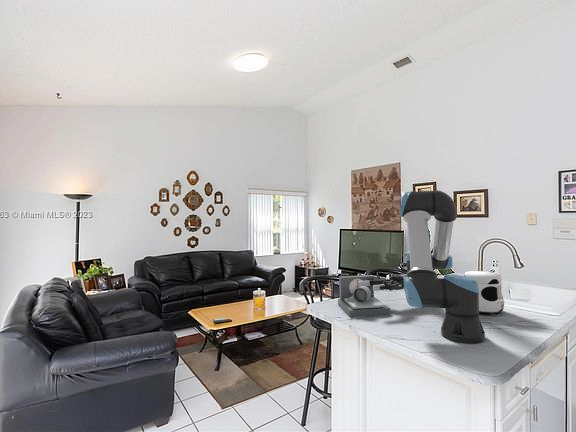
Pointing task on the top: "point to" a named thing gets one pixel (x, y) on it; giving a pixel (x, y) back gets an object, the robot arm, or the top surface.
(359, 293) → the ceramic mug
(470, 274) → the white rounded piece
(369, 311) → the kitchen scale
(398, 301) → the top surface
